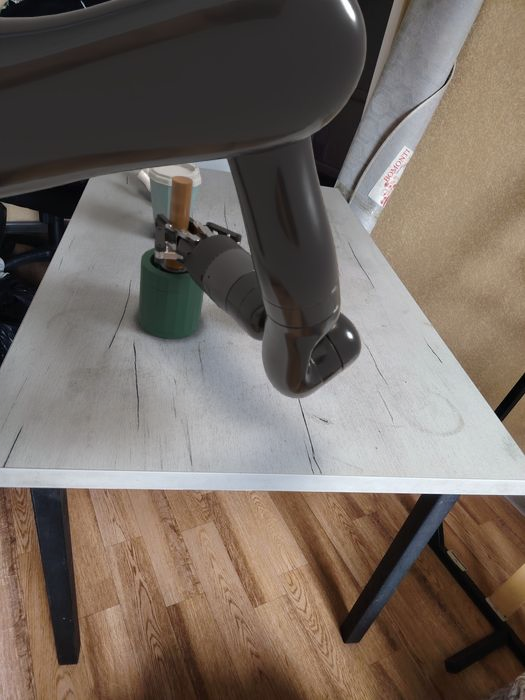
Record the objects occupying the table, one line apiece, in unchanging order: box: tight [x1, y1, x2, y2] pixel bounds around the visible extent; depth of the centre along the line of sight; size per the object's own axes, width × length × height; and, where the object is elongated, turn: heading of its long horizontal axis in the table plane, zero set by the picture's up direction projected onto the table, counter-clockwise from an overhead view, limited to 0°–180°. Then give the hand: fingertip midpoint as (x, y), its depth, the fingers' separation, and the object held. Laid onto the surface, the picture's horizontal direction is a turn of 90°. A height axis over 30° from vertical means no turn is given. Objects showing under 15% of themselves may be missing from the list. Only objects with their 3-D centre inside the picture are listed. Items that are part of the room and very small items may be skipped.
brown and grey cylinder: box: [160, 176, 193, 274], centre depth 70 cm, size 4×4×18 cm
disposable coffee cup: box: [148, 163, 202, 230], centre depth 98 cm, size 11×11×15 cm
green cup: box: [138, 247, 205, 340], centre depth 76 cm, size 10×10×11 cm
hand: (169, 219), depth 71 cm, fingers closed on brown and grey cylinder, 3 cm apart
